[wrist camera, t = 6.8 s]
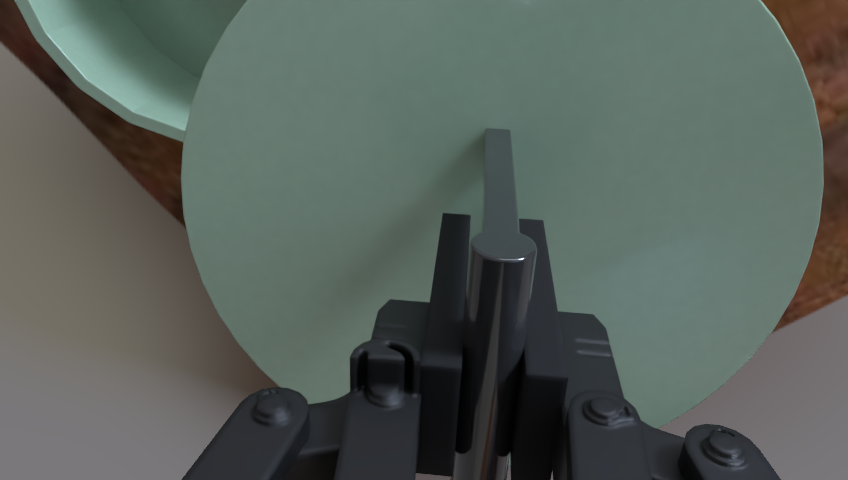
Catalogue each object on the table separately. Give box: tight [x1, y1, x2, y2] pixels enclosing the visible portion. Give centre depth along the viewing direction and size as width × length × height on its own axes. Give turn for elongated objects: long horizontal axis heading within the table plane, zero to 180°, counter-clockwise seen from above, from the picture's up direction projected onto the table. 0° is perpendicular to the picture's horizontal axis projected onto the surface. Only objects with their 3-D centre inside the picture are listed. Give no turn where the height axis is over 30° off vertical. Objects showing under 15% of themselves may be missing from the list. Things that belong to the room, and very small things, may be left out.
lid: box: [181, 0, 824, 480], centre depth 17 cm, size 18×18×9 cm
